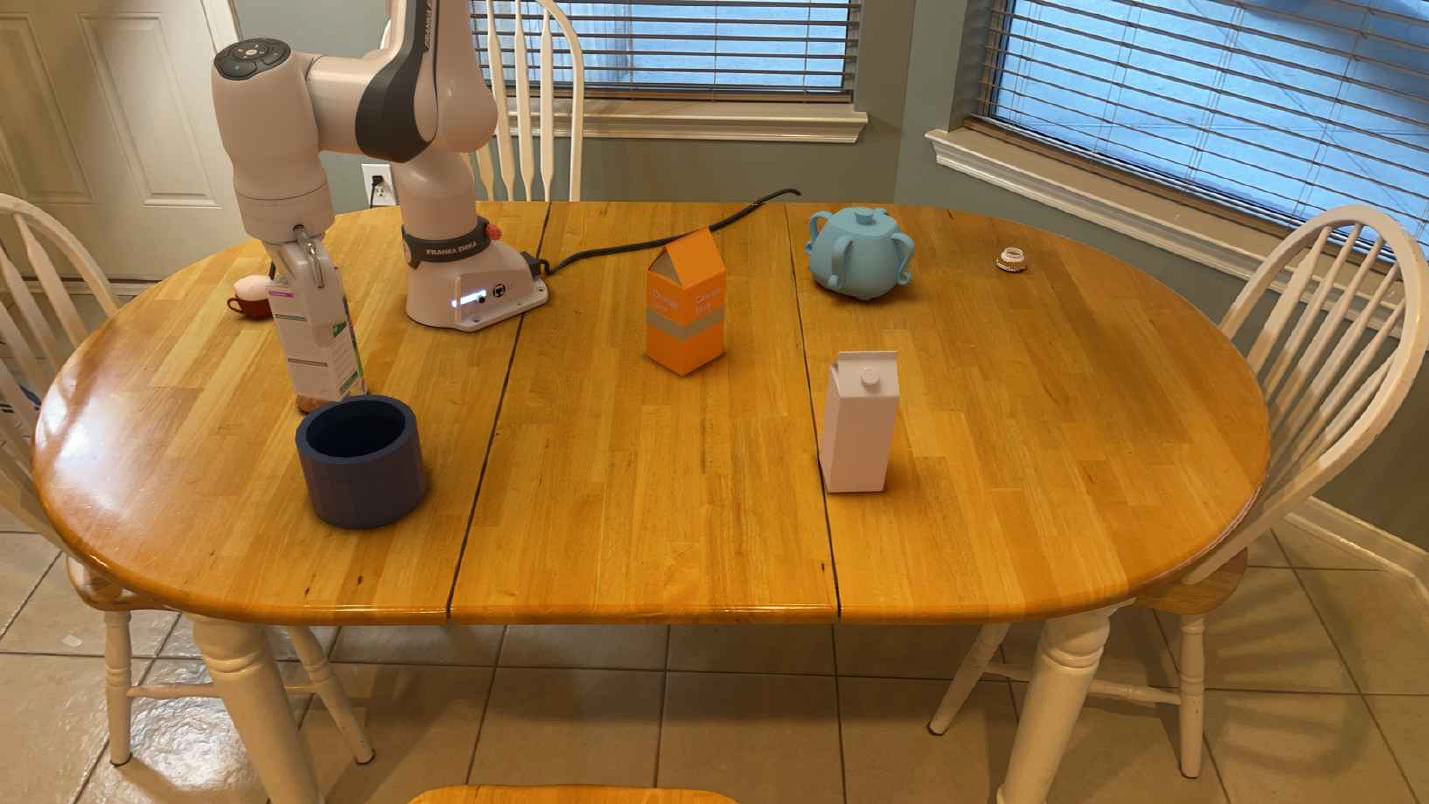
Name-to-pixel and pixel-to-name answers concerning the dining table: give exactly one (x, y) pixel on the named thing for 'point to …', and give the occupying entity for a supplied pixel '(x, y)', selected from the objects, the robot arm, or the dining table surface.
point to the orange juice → (686, 303)
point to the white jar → (1011, 258)
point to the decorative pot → (859, 252)
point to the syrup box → (314, 347)
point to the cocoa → (253, 294)
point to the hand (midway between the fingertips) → (313, 324)
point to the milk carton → (859, 420)
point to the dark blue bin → (362, 461)
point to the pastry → (313, 404)
